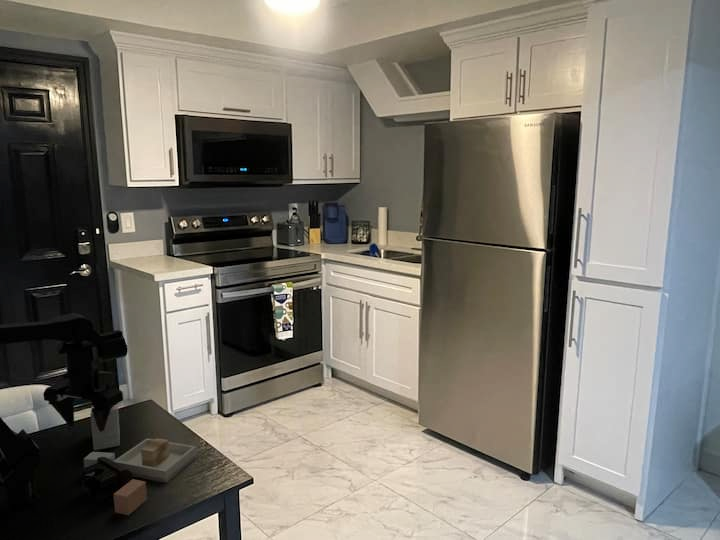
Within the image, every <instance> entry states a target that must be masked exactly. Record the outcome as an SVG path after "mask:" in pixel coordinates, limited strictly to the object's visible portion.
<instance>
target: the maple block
mask: <svg viewBox="0 0 720 540" xmlns="http://www.w3.org/2000/svg"><path fill="white" fill-rule="evenodd" d="M169 442H170V441H169V439H165V438H157V437H156V438H155V440H154V441H152V442H151V443H149V444H148V445H146V446H145V447H144V448H142V449H141V455H142V465H144V466H149V467H156V466H158V465H159V464H160V463H161V462H163V461H164V460H165V459H167V458H168V457H169Z"/></svg>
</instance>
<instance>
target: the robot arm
mask: <svg viewBox="0 0 720 540" xmlns="http://www.w3.org/2000/svg"><path fill="white" fill-rule="evenodd" d="M46 340H47V341H48V340H49V341H50V340H51V341H52V340H53V341H59V342H60V343H59V344H58V345H56V347H55V348H54V349H53V350H54V352H56V353H57V354H59V355H62V354H64V357H65V366H66V368H65V369H66V372H64V373H62V378H63V379H66V380H67V382H66V381H59V382H57V383H55V384H52V385H50V386H48V387H46V388H45V389H44V392H43V401H44V402H48V405H51V407H52V408H53V409H54V410H55V411H56V412H57V413H58V414H59V415H60V417H61V418H62V419H63V420H64V422H65V423H66V424H67V425H68V426H69V427H73V426H74V425H75V411H74V402H75V400H76V399H82V400H87V401H88V400H89V401H90V403H91V408H92V406H93V407H94V408H92V409H91V408H90V411H91V410H92V413H93V416H94V418H95V421H96V424H97V427H98V429H99V431H100V432H102V431H103V430H104V429H105V425H106V422H107V419H108V415H109V413H110V410H111V408H112V407H113V406H114V405H116V404H118V405H119V403H122V401H124V396H123V395H124V392H123V391H122V390H121V389H117V388H110V386H113V385H114V381H115V375H116V372H111V371H104V370H100V369H99V367H96V366H95V364H94V363H95V362H94V359H95V360H98V361H99V362H101V363H104V362H108V361H112V360H116V359H120V358H124V357H127V355H128V351H129V349H128V345H127V343H126V339H125V337H124V336H123V331H121V330H119V329H117V330H113V331H110V332H104V333H101V334H100V333H98V332H96V331H95V329H94V324H93V323H92V321H91V320H90V319H88V318H87V317H85V316H83V315H81V314H78V313H75V312H74V313H73V312H71V313H67V314H62V315H57V316H55V317H53V318H50V319H46V320H41V321H31V322H30V321H27V322H17V323H16V322H15V323H5V324H0V345H7V344H8V345H9V344H17V343H25V342H26V343H27V342H36V341H46ZM85 341H87V342H85ZM103 386H109V387H107V388H105V389H103V390H102V391H97V390H101V389H102V388H103ZM41 451H42V448H40V446H39V445H38V444H37V442H35V440H34V439H32V438H31V436H30V435H29V434H28V433H27V432H26V430H25V429H24V428H23V429H21V430H19V432H16V431H14V430H13V429H11V427H9V425H8V424H7V423H6V421H5V420H4V419H2V418H1V416H0V453H1V455H2V457H1V458H0V512H2V513H3V512H4V513H7V514H11V515H16V514H18V513H20V512H22V511H23V510H24V509H26V508H28V507H29V506H31V505H32V504H34V503H35V502H37V501H38V500H41V495H40V494H37V489H36V482H35V481H36V480H35V477H34V475H35V470H36V469H37V468H38V467H39V465H40V463H41V460H42V456H41V454H40V452H41Z"/></svg>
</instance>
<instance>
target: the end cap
mask: <svg viewBox="0 0 720 540" xmlns="http://www.w3.org/2000/svg"><path fill="white" fill-rule="evenodd" d="M97 461H98V462H97V463H95V464H92V465H90V466H88V467H86V468H84V467H83V468H82V469H81V476H85V475H86V474H90V473H92V472H95V474H94V475H93V476H89V477H87V478H85V479H83V480H82V486H83V489H84V493H85V494H86V495H87V496H89V497H90V498H92V499H93V500H95V501H97V503H99V504H100V505H102V506H107V505H108V504H110V503H112V502H113V503H114V493H116V492H117V491H118V490H119V489H121V488H122V487H123V486H125V485H126V484H127V483H129V482H130V481H131V480H132V479H134V476H133V474H132V472H131V471H129V470H128V469H126V468H124V467H123V466H121V465H119V464H117V463H116V462H114V461H112V460H110V459H109V458H107V457H99V458H97Z"/></svg>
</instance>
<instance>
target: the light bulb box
mask: <svg viewBox="0 0 720 540" xmlns="http://www.w3.org/2000/svg"><path fill="white" fill-rule="evenodd" d="M118 405H119V403H118V404H116V405H114V406H113V407H112V408H111V410H110V413H109V415H108V419H107V422H106V425H105V429H104V430H103V431H102V432H100V431H99V429H98V427H97V424H96V421H95V418H94V416H93V413H92V410H91V409H92V408H94V407H93V406H92V405H91V408H90V414H89V416H90V423H91V424H90V425H91V434H92V445H93V451H99V450H105V449H108V448H114V447H118V446H119V447H120V442H121V441H120V438H121V437H120V436H121V435H120V434H121V433H120V418H119V417H120V416H119V406H118Z"/></svg>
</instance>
